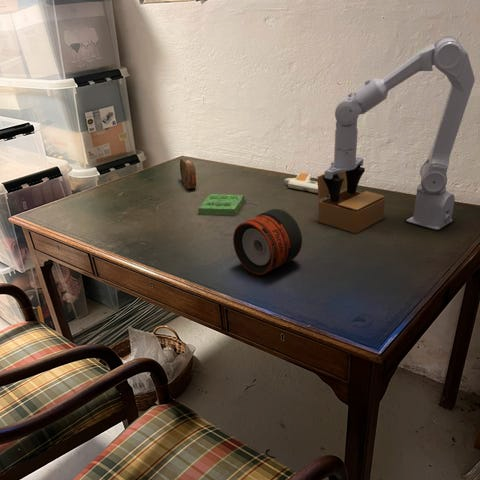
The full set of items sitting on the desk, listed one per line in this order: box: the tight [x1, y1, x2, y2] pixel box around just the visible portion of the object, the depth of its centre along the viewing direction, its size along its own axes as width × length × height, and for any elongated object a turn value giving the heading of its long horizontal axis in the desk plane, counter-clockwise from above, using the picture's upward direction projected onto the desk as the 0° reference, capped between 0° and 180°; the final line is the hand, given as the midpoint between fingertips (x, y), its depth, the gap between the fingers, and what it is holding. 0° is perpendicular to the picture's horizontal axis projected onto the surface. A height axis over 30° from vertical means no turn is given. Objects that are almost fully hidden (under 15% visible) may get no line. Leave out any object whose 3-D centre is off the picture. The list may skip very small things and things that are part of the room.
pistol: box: [283, 172, 330, 197], centre depth 167 cm, size 2×20×11 cm
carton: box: [317, 188, 386, 234], centre depth 141 cm, size 13×13×7 cm
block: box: [333, 199, 352, 210], centre depth 144 cm, size 4×4×4 cm
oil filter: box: [232, 208, 303, 276], centre depth 120 cm, size 13×12×13 cm
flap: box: [317, 172, 347, 200], centre depth 142 cm, size 6×13×1 cm
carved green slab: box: [197, 193, 245, 216], centre depth 157 cm, size 11×12×2 cm
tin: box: [179, 158, 197, 190], centre depth 175 cm, size 15×3×8 cm, turn 17°
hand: (343, 197), depth 142 cm, fingers open, 7 cm apart
